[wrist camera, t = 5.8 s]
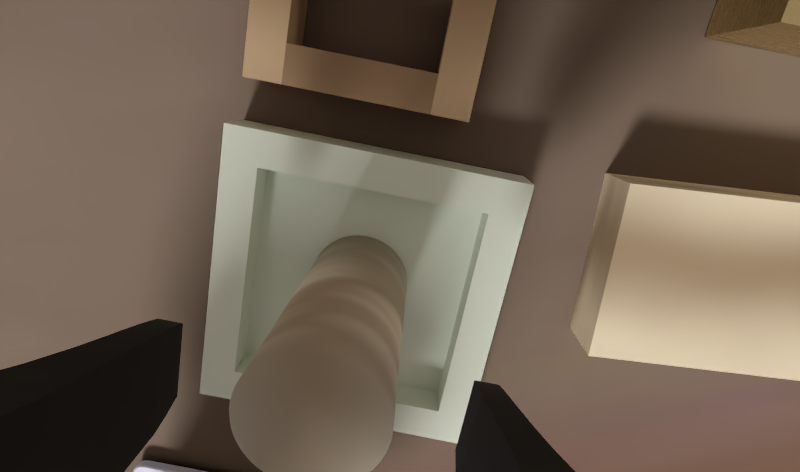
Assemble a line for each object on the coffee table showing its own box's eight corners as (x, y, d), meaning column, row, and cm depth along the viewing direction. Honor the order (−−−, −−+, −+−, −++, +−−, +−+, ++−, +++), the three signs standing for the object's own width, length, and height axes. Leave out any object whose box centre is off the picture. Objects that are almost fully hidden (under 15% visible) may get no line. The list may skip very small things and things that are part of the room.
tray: (459, 414, 20) (463, 444, 18) (218, 367, 20) (199, 393, 18) (523, 176, 17) (534, 185, 16) (243, 119, 17) (223, 122, 16)
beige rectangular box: (771, 347, 19) (821, 383, 17) (567, 323, 19) (588, 355, 17) (825, 197, 18) (889, 213, 15) (601, 171, 18) (630, 183, 15)
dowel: (413, 242, 18) (403, 360, 10) (400, 330, 19) (382, 499, 11) (316, 229, 18) (231, 336, 10) (308, 317, 19) (226, 476, 11)
